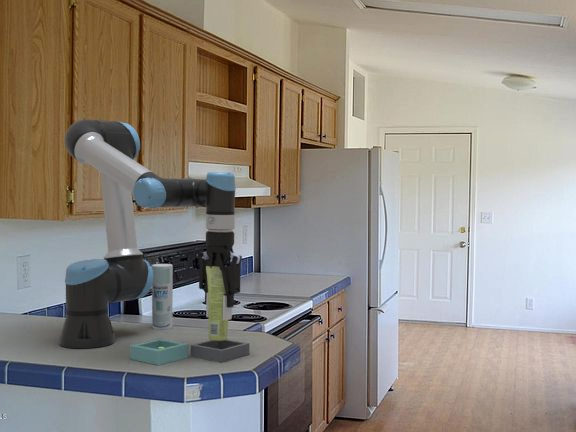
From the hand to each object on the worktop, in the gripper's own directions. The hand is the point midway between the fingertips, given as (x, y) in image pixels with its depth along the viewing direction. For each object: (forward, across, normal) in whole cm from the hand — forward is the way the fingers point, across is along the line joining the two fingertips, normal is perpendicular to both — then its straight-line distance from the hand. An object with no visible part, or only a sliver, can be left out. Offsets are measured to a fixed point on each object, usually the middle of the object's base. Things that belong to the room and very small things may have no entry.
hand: (218, 317), depth 190 cm
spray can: (+11, -38, +16) cm, 43 cm away
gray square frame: (+10, +1, 0) cm, 10 cm away
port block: (+10, -10, -12) cm, 19 cm away
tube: (+6, 0, 0) cm, 6 cm away
